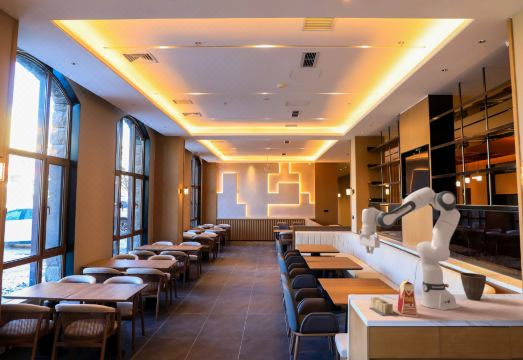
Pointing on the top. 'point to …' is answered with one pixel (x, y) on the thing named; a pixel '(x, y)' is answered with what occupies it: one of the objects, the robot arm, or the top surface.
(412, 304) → the red figurine
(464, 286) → the plant pot
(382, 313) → the mat
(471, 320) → the top surface
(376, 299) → the block
